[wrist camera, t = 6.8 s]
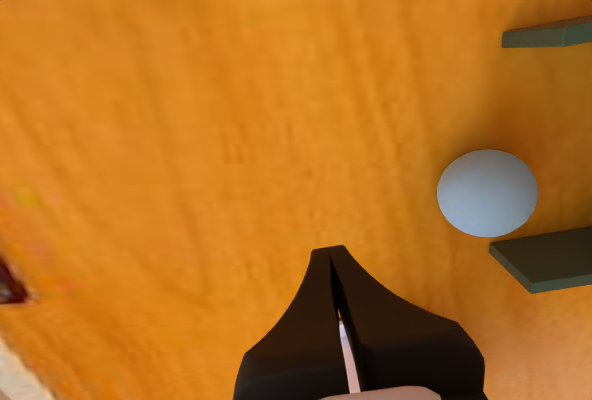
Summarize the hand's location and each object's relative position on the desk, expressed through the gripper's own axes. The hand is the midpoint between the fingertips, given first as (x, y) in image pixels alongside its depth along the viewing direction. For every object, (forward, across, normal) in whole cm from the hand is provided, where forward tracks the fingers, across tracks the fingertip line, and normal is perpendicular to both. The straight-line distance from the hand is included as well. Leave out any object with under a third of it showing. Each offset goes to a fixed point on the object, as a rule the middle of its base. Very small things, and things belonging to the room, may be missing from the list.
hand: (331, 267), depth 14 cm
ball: (+6, -9, +1) cm, 11 cm away
